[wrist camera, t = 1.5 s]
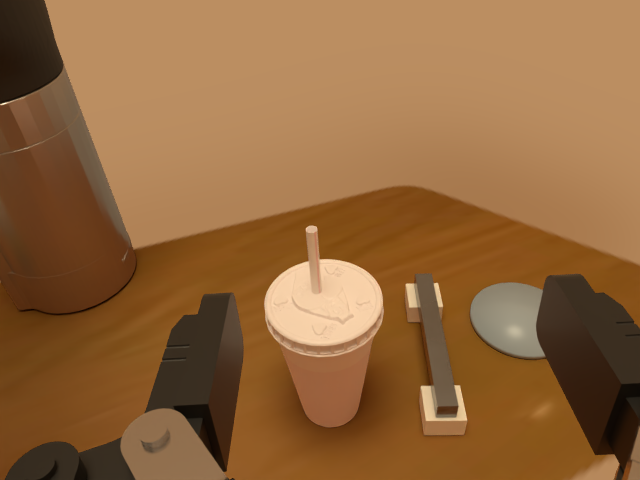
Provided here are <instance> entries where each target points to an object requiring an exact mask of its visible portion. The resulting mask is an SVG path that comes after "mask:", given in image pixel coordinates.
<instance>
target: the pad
mask: <svg viewBox="0 0 640 480" xmlns="http://www.w3.org/2000/svg"><path fill="white" fill-rule="evenodd" d="M542 293H543V290H541V289H539V288H536V287H533V286H530V285H526V284H521V283H500V284H495V285H492V286H489V287H487V288H485V289H483V290H482V291H480V292H479V293H478V294H477V295H476V296H475V298H474V300H473V302H472V304H471V310H470V319H471V323H472V326H473V328H474V330H475V332H476V333H477V334H478V336H479V337H480V338H481V339H482V340H483V341H484V342H485V343H486V344H488V345H489V346H490V347H492V348H493V349H495V350H497V351H499V352H501V353H503V354H506V355H509V356H512V357H516V358H520V359H533V360H535V359H543V358H546V356H545V354H544V352H543V350H542V348H541V346H540V344H539V341H538V338H537V332H536V321H537V316H538V311H539V306H540V302H541V297H542Z"/></svg>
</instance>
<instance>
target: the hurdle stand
mask: <svg viewBox="0 0 640 480" xmlns="http://www.w3.org/2000/svg"><path fill="white" fill-rule="evenodd" d="M434 288H435V293H436V298H437V303H438V308H439V312H440V317H441V318H442V310H443V304H442V300H441V295H440V290H439V286H438V283H434ZM405 304H406V311H407V318H408V322H420V318H419V312H418V306H417V300H416V294H415V288H414V284H406V288H405ZM455 391H456V396H457V401H458V405H459V407H458V412H457V417H456V418H436V416H435V410H434V404H433V398H432V392H431V386H421V389H420V397H419V404H420V411H421V418H422V425H423V432H424V435H464V433H465V428H466V424H467V417H466V412H465V408H464V403H463V398H462V393H461V389H460V386H455Z"/></svg>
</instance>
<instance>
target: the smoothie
mask: <svg viewBox="0 0 640 480" xmlns="http://www.w3.org/2000/svg"><path fill="white" fill-rule="evenodd" d="M306 237H307V248H308V259H309V261H308V262H304V263H301V264H298V265H296V266H294V267H292V268H290V269H288V270H286V271H285V272H283V273H282V274H281V275H280V276H278V277H277V278H276V279H275V280H274V282H273V283H272V284H271V286H270V287H269V289H268V291H267V294H266V297H265V312H266V317H265V319H266V323H267V326H268V329H269V331H270V333H271V334H272V335H273V337H274V338H275V340H276V341H277V342H279V344H280V347H281V349H282V352H283V354H284V357H285V360H286V363H287V365H288V368H289V371H290V374H291V376H292V379H293V382H294V385H295V387H296V390H297V393H298V396H299V398H300V401H301V404H302V407H303V409H304V412H305V414H306V416H307V417H308V418H309V419H310V420H311V421H312V422H314V423H315V424H317V425H320V426H323V427H338V426H341V425H344V424H346V423H347V422H349V421H350V420H351V419H352V418H353V417H354V416H355V415H356V413H357V411H358V408H359V403H360V399H361V394H362V389H363V384H364V379H365V374H366V369H367V364H368V359H369V355H370V350H371V345H372V341H373V336H375V334H376V332H377V331H378V329H379V327H380V326H381V324H382V319H383V314H384V310H383V298H382V292H381V289H380V287H379V285H378V283H377V282H376V280H375V279H374V278H373V277H372V276H371V275H370V274H369V273H368V272H367V271H365V270H364V269H362V268H360V267H358V266H356V265H354V264H351V263H348V262H344V261H340V260H331V259H323V260H319V246H318V233H317V228H316V227H315V226H309V227H307V228H306Z"/></svg>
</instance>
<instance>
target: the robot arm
mask: <svg viewBox="0 0 640 480" xmlns="http://www.w3.org/2000/svg"><path fill="white" fill-rule="evenodd" d="M135 267H136V256H135V253H134V250H133V247H132V245H131V241H130V238H129V235H128V233H127V231H126V229H125V226H124V224H123V221H122V218H121V215H120V212H119V210H118V207H117V204H116V202H115V199H114V196H113V194H112V191H111V189H110V186H109V183H108V181H107V178H106V175H105V173H104V170H103V168H102V165H101V162H100V159H99V157H98V154H97V151H96V149H95V146H94V143H93V141H92V138H91V135H90V133H89V130H88V128H87V125H86V122H85V120H84V117H83V114H82V112H81V109H80V106H79V104H78V101H77V99H76V96H75V93H74V90H73V88H72V85H71V82H70V80H69V77H68V74H67V72H66V69H65V66H64V64H63V60H62V58H61V55H60V53H59V50H58V47H57V44H56V41H55V38H54V34H53V30H52V27H51V22H50V19H49V15H48V11H47V8H46V4H45V1H44V0H0V281H1V283H2V284H3V286H4V288H5V289H6V291H7V292H8V294H9V296H10V297H11V299H12V301H13V302H14V304H15V305H16V307H17V309H18V310H25V309H37V310H40V311H43V312H46V313H56V314H58V313H70V312H75V311H80V310H84V309H86V308H89V307H92V306H95V305H97V304H99V303H101V302H103V301H105V300H107V299H108V298H110V297H111V296H113V295H114V294H116V293H117V292H118V291H119V290H120V289H121V288H122V287H123V286H125V285H126V283H127V282H128V281H129V279H130V278H131V277H132V274H133V272H134V270H135ZM536 332H537V338H538V341H539V344H540V346H541V348H542V350H543V352H544V354H545V356H546V358H547V360H548V362H549V364H550V366H551V368H552V370H553V372H554V374H555V376H556V378H557V380H558V382H559V384H560V386H561V388H562V390H563V392H564V394H565V396H566V398H567V400H568V402H569V404H570V406H571V408H572V410H573V412H574V414H575V416H576V418H577V420H578V422H579V424H580V426H581V428H582V430H583V432H584V434H585V436H586V438H587V440H588V442H589V444H590V446H591V448H592V450H593V451H594V453H595V455H606V454H615V456H616V458H617V460H618V462H619V463H620V464H619V466H618V469H617V471H616V474H615V478H614V480H640V329H639V327H638V326H637V325H636V324H634V321H633V319H632V318H631V317H630V315H629V314H628V313H627V311H626V310H625V309H624V307H623V306H622V305H621V304H619V303H618V302H616V301H615V300H613V299H612V298H611V297H609V296H608V295H606V294H605V293H595V292H594V291H593V289H592V288H591V286H590V285H589V284H588V282H587V281H586V279H585V278H584V277H583V276H582V275H581V274H568V275H550V276H548V277H547V278H546V280H545V284H544V288H543V293H542V297H541V302H540V306H539V311H538V316H537V321H536ZM242 363H243V337H242V331H241V326H240V321H239V316H238V311H237V306H236V300H235V296H234V294H233V293H218V294H204V295H203V298H202V301H201V305H200V308H199V312H198V314H196V315H184V316H183V317H182V318H181V319H180V321H179V322H178V323H177V324H176V325H175V326H174V328H173V329H172V330H171V333H170V336H169V339H168V343H167V349H165V352H164V355H163V358H162V362H161V364H160V367H159V371H158V374H157V377H156V380H155V383H154V386H153V389H152V392H151V395H150V399H149V402H148V405H147V408H146V411H145V413H144V414H143V415H141V416H139V417H138V418H136V419H135V420H134V421H133V422H132V423H131V424H130V425H129V426H128V427H127V429H126V430H125V432H124V434H123V436H122V437H121V438H119V439H117V440H115V441H112V442H110V443H107V444H104V445H101V446H98V447H95V448H92V449H89V450H86V451H83V452H80V453H78V452H77V450H76V449H75V448H74V446H72V445H71V444H69V443H66V442H50V443H46V444H42V445H40V446H38V447H35V448H34V449H32V450H30V451H29V452H27V453H26V454H24V455H23V456H22V457H21V458H20V459H19V460H18V461H17V462H16V463H15V464H14V465H13V466H12V468H11V469H10V470H9V472H8V474H7V476H6V478H5V480H229V479H228V478H227V477H226V475H225V474H224V472H226V471H227V464H228V458H229V451H230V444H231V437H232V430H233V424H234V417H235V410H236V403H237V397H238V390H239V383H240V376H241V369H242ZM230 480H235V479H233V478H232V479H230Z"/></svg>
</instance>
